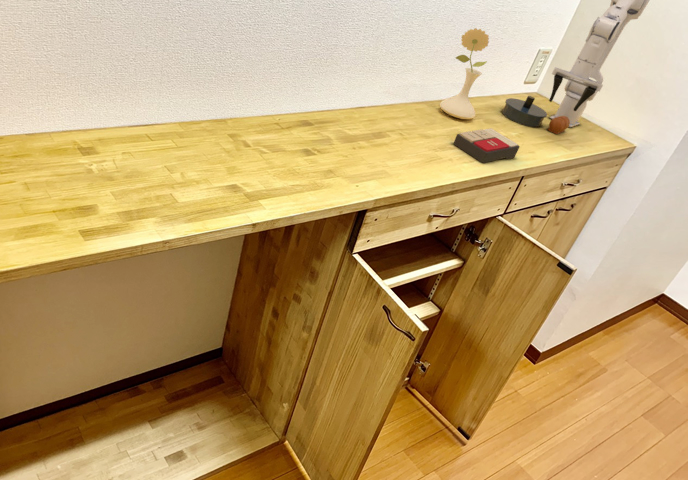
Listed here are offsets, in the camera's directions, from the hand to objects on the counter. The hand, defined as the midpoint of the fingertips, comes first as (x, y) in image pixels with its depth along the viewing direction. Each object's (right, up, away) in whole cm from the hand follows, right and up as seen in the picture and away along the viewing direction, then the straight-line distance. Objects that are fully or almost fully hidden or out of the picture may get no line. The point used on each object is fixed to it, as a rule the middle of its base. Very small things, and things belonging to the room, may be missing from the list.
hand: (562, 105), depth 174 cm
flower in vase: (-32, -1, +4) cm, 33 cm away
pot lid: (-5, +4, +15) cm, 16 cm away
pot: (-6, +1, +17) cm, 18 cm away
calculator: (-30, -18, -16) cm, 38 cm away
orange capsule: (+5, -4, +15) cm, 16 cm away
